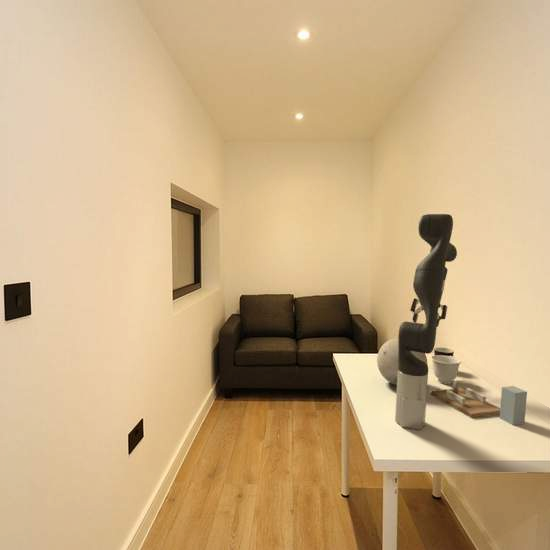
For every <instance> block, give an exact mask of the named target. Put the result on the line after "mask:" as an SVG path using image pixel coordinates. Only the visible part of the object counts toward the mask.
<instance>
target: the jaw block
mask: <svg viewBox="0 0 550 550" xmlns="http://www.w3.org/2000/svg"><path fill="white" fill-rule="evenodd" d="M527 398H528V391H527V390H524V389H522V388H520V387H517V386H515V385H510V386H502V387H501V396H500V407H499V408H500V415H499V419H500V420H502V421H504V422H506V423H508V424H509V425H510V426H511V425H512V426H517V425H523V424H524V425H525V422H526V410H527V409H526V407H527Z"/></svg>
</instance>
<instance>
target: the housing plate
mask: <svg viewBox="0 0 550 550" xmlns="http://www.w3.org/2000/svg"><path fill="white" fill-rule="evenodd" d="M452 384H453V386H452V388H449V389H448V388H446V389H436V390H435V389H434V390H430V395H431V394H432V395H431V396H432V397H434V396H435V397H434V398H436V397H437V398H436V399H438V400H439V401H441V400H442V401H441V402H442V403H445V404H446V405H448V406H450V407H452V408H453V409H455V410H457V411H459V412H460V413H462V414H463V415H466V416H467V417H468V418H470V419H475V418H481V417H482V418H483V417H490V416H500V407H499V406H497V405H495V404H493V403H491V402H489V401H487V399H486V398H487V396H485V395H484V394H481V393H480V392H478V391H476V390H474V389H471V388H468V387H467V388H466V389H463V388H461V387H460V388H459V385H460V384H459V381H457V380H453V382H452Z"/></svg>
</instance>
